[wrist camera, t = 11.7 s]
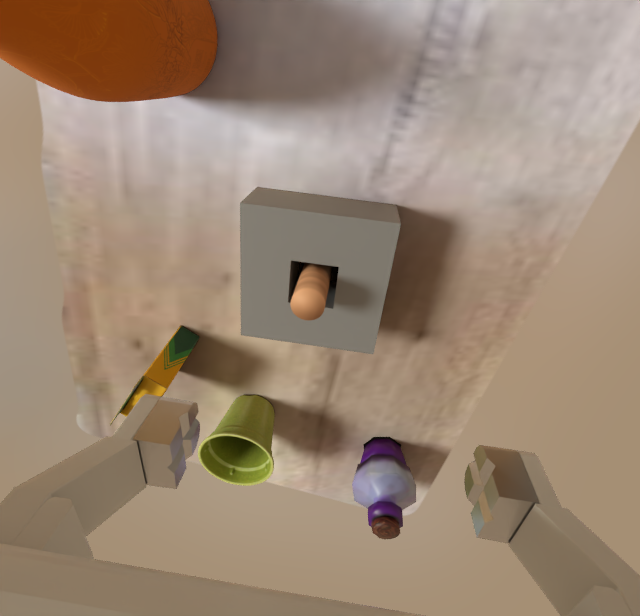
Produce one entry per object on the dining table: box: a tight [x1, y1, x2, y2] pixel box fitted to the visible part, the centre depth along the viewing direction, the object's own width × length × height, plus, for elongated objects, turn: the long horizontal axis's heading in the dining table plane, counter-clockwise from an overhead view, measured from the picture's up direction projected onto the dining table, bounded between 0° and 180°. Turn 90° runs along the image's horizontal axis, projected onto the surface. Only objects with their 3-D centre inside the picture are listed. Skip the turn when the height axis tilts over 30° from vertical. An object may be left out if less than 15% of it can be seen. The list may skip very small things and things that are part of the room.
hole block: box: [240, 187, 401, 354], centre depth 39 cm, size 14×14×6 cm
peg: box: [290, 262, 333, 320], centre depth 38 cm, size 3×3×10 cm
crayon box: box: [110, 326, 199, 425], centre depth 45 cm, size 7×3×12 cm, turn 143°
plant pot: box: [198, 395, 275, 486], centre depth 51 cm, size 9×9×9 cm
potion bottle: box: [352, 437, 416, 539], centre depth 50 cm, size 9×9×12 cm
